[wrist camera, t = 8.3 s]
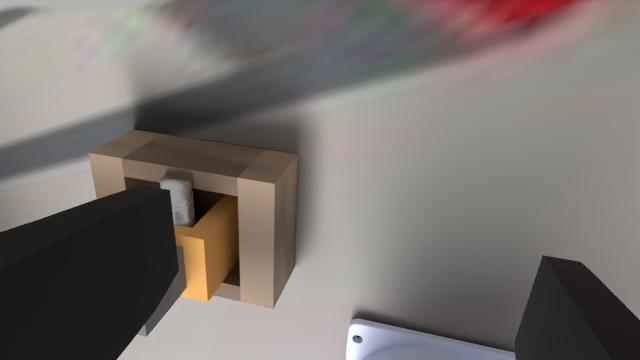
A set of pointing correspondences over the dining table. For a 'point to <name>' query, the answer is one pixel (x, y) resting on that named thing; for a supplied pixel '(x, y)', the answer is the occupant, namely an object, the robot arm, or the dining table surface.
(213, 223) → the orange u-shaped bracket
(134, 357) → the dining table surface
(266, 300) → the rectangular frame
